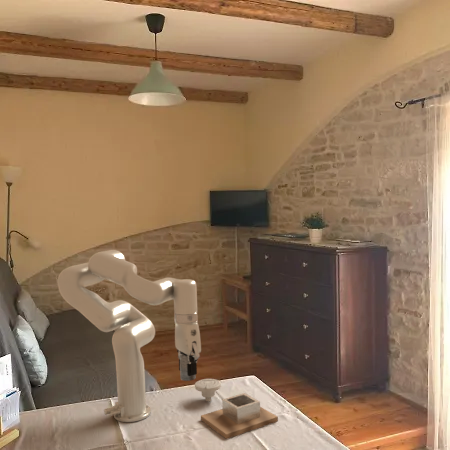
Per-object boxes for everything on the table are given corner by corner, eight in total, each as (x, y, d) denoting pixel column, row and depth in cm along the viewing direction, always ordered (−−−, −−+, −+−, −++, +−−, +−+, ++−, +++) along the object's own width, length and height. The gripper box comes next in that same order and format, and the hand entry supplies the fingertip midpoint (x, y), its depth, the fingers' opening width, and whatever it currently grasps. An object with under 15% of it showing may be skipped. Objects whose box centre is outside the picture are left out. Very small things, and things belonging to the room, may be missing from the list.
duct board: (226, 439, 148) (225, 418, 148) (200, 419, 162) (200, 400, 161) (277, 421, 159) (277, 401, 159) (249, 404, 172) (249, 386, 172)
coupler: (185, 381, 155) (184, 357, 155) (177, 377, 160) (177, 353, 159) (198, 378, 158) (197, 354, 158) (191, 374, 162) (190, 350, 162)
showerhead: (192, 386, 172) (197, 376, 182) (193, 406, 173) (197, 394, 183) (218, 386, 171) (221, 376, 181) (219, 406, 172) (222, 395, 182)
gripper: (209, 321, 153) (211, 377, 154) (184, 311, 167) (185, 363, 168) (188, 325, 149) (190, 383, 150) (164, 314, 163) (166, 367, 164)
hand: (187, 371), depth 159 cm, fingers closed on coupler, 5 cm apart
